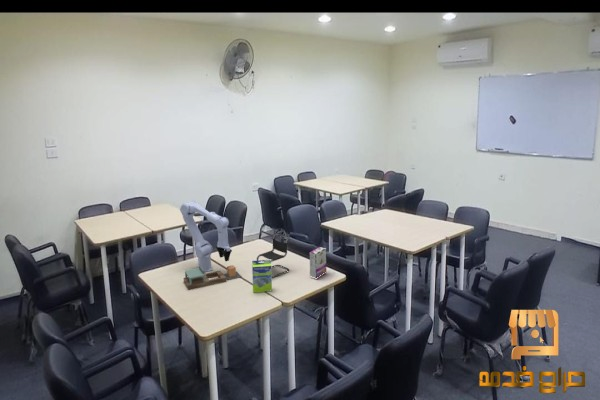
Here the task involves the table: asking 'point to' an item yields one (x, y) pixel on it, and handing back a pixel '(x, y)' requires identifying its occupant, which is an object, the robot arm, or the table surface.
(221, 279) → the brown flat rectangular frame
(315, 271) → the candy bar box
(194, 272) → the sliding cover
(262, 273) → the box
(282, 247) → the chair
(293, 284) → the table surface
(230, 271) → the terracotta block
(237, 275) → the rubber mat
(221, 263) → the table surface
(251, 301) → the table surface
